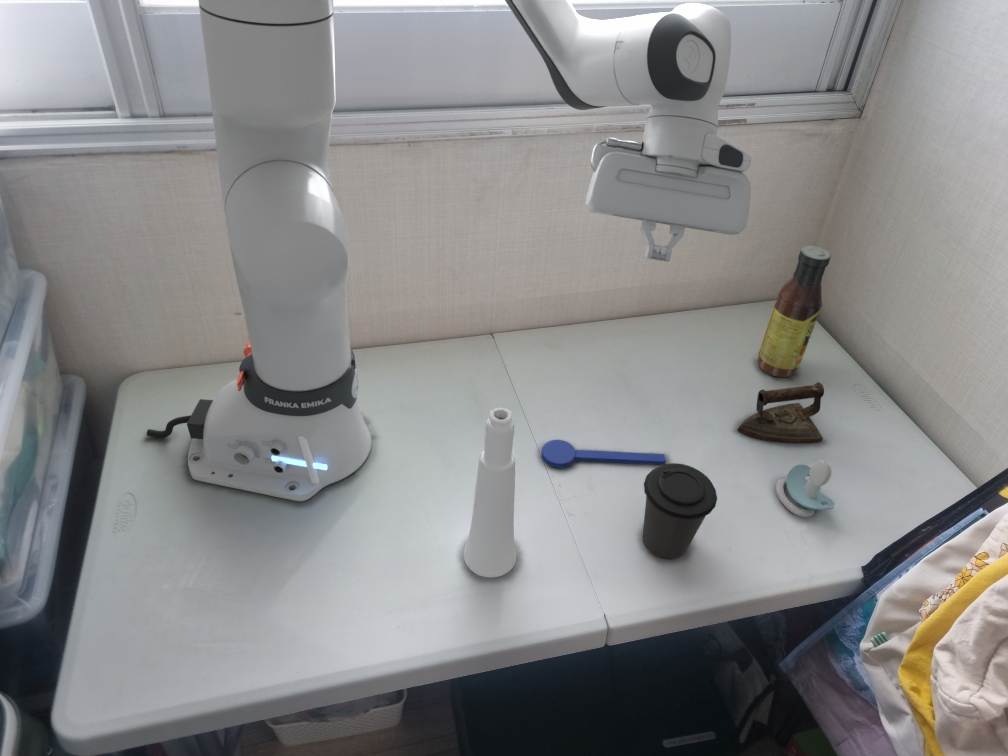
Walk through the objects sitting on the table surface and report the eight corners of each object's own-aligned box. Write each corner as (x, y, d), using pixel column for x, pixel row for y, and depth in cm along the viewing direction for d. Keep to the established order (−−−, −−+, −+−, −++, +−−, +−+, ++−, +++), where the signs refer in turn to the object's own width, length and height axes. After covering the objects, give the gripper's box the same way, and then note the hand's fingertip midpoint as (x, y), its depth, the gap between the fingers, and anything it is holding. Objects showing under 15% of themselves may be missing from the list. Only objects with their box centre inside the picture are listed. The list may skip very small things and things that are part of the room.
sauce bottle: (799, 382, 115) (845, 269, 102) (757, 376, 116) (797, 262, 103) (793, 356, 120) (836, 244, 107) (753, 350, 121) (791, 238, 108)
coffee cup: (633, 508, 94) (648, 451, 88) (700, 521, 93) (719, 464, 87) (627, 561, 88) (642, 503, 82) (698, 576, 87) (719, 519, 81)
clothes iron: (825, 443, 106) (837, 397, 98) (746, 464, 106) (752, 419, 98) (803, 406, 110) (812, 359, 103) (727, 425, 110) (731, 380, 103)
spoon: (661, 449, 102) (663, 444, 102) (666, 473, 99) (668, 469, 99) (541, 442, 102) (541, 438, 101) (541, 467, 99) (542, 462, 98)
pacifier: (790, 524, 94) (836, 519, 95) (804, 490, 90) (852, 485, 91) (766, 479, 99) (809, 475, 100) (778, 445, 95) (823, 441, 96)
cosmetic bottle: (502, 586, 84) (516, 445, 70) (454, 565, 86) (458, 423, 72) (524, 547, 89) (542, 406, 75) (478, 527, 90) (486, 386, 76)
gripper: (599, 130, 91) (580, 246, 93) (764, 158, 93) (742, 272, 95) (591, 138, 98) (573, 247, 100) (745, 165, 99) (724, 271, 101)
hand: (656, 259), depth 97 cm, fingers closed
